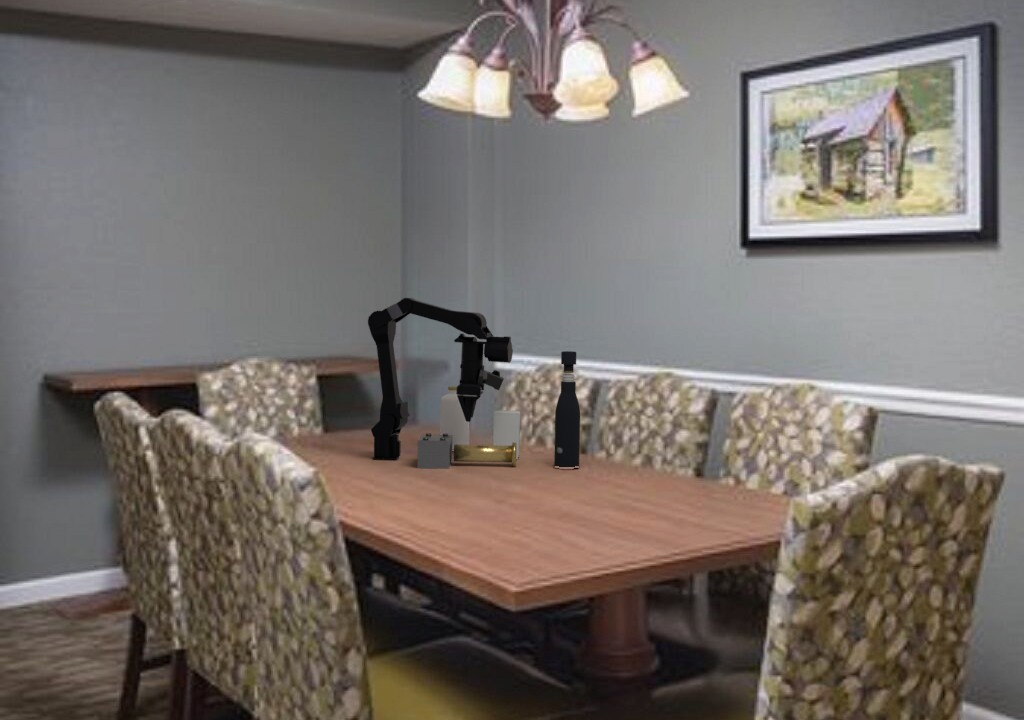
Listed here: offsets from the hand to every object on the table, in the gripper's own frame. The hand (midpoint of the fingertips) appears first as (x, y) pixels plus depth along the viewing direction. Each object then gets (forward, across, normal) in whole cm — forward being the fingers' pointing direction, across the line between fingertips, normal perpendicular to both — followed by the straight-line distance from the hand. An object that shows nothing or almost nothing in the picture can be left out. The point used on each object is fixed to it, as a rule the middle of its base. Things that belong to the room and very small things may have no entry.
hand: (469, 419), depth 297 cm
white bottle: (+12, +24, +5) cm, 27 cm away
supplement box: (+11, +11, -10) cm, 19 cm away
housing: (+12, -6, +8) cm, 15 cm away
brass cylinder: (+11, -5, -5) cm, 13 cm away
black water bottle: (+11, -6, -26) cm, 29 cm away
